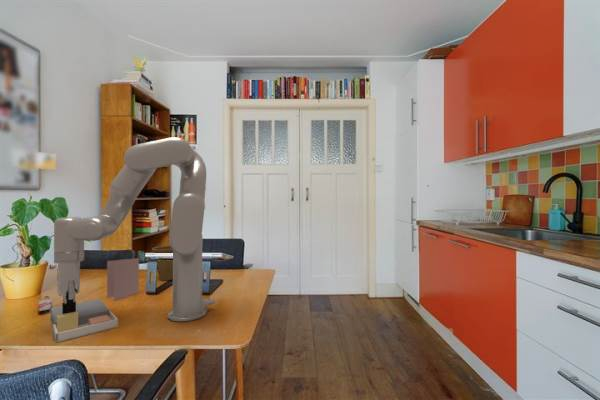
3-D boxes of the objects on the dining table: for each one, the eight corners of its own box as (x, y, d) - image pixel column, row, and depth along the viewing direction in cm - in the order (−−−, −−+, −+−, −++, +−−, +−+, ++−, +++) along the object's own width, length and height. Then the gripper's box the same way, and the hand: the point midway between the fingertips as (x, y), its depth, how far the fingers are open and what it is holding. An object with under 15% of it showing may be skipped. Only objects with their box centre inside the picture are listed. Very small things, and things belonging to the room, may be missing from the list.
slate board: (99, 307, 110) (99, 299, 110) (109, 319, 99) (109, 310, 99) (50, 317, 101) (50, 308, 101) (55, 332, 89) (55, 322, 89)
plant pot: (188, 279, 151) (189, 247, 151) (158, 284, 140) (158, 250, 140) (177, 273, 161) (177, 244, 161) (148, 278, 151) (148, 247, 151)
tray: (111, 318, 99) (111, 311, 99) (117, 327, 93) (117, 319, 93) (53, 332, 89) (53, 324, 89) (55, 343, 82) (56, 334, 82)
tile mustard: (77, 311, 92) (78, 313, 90) (77, 327, 92) (78, 330, 90) (56, 315, 88) (56, 317, 86) (56, 332, 88) (56, 334, 86)
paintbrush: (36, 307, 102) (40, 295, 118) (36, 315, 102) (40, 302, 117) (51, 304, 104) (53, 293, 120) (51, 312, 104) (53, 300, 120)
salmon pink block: (110, 318, 92) (110, 327, 92) (107, 314, 95) (107, 322, 95) (91, 323, 88) (91, 332, 88) (88, 318, 92) (88, 326, 92)
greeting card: (138, 292, 128) (138, 257, 128) (140, 296, 122) (140, 260, 122) (106, 297, 122) (107, 260, 122) (107, 302, 116) (107, 263, 116)
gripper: (51, 255, 96) (51, 311, 96) (56, 261, 85) (55, 325, 85) (80, 252, 101) (80, 306, 101) (88, 258, 90) (87, 318, 90)
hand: (69, 314), depth 93 cm, fingers closed
